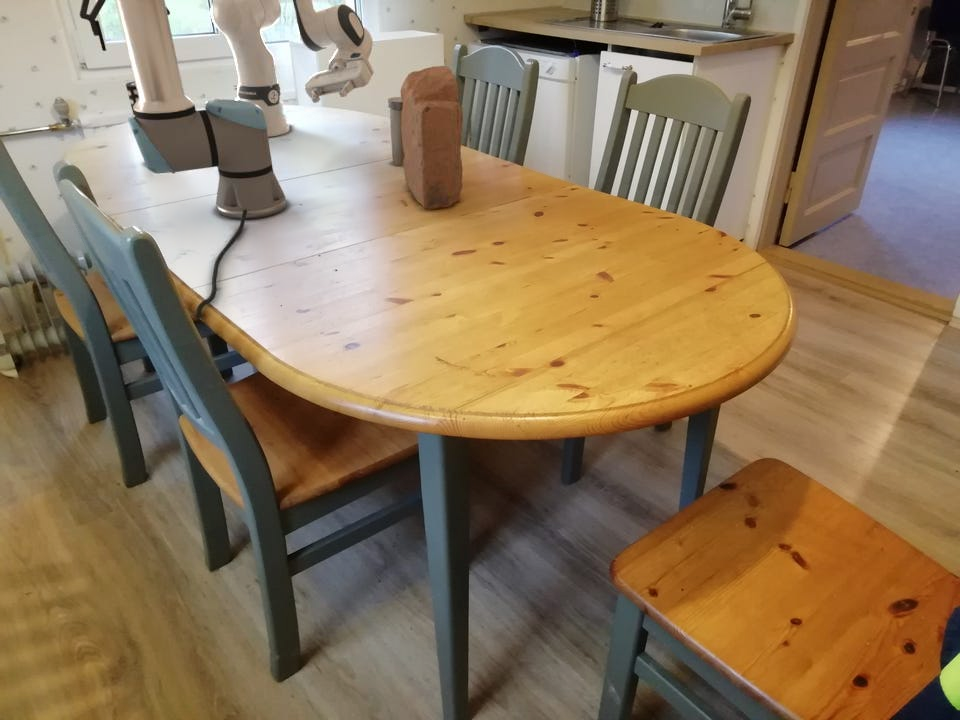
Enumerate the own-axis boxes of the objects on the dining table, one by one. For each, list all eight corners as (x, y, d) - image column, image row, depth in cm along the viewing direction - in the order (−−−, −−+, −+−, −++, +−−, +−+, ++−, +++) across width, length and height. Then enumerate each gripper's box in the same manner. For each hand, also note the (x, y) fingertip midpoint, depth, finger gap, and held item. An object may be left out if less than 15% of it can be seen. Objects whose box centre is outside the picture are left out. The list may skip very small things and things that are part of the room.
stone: (472, 206, 159) (470, 76, 145) (424, 211, 156) (418, 79, 142) (446, 181, 177) (443, 63, 162) (403, 185, 174) (396, 65, 159)
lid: (407, 110, 177) (406, 102, 176) (385, 109, 178) (384, 101, 177) (413, 105, 182) (413, 97, 181) (392, 104, 183) (392, 96, 182)
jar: (409, 166, 186) (406, 104, 177) (390, 165, 187) (386, 102, 178) (414, 160, 190) (412, 99, 181) (396, 159, 191) (392, 98, 182)
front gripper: (164, -51, 170) (183, 43, 182) (50, -50, 160) (78, 49, 171) (168, -50, 165) (188, 47, 176) (50, -49, 154) (79, 53, 166)
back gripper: (310, 65, 202) (292, 94, 195) (368, 51, 194) (352, 81, 187) (321, 84, 207) (304, 113, 200) (378, 71, 199) (363, 101, 191)
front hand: (133, 48), depth 174 cm, fingers open, 13 cm apart
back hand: (328, 97), depth 193 cm, fingers open, 8 cm apart
